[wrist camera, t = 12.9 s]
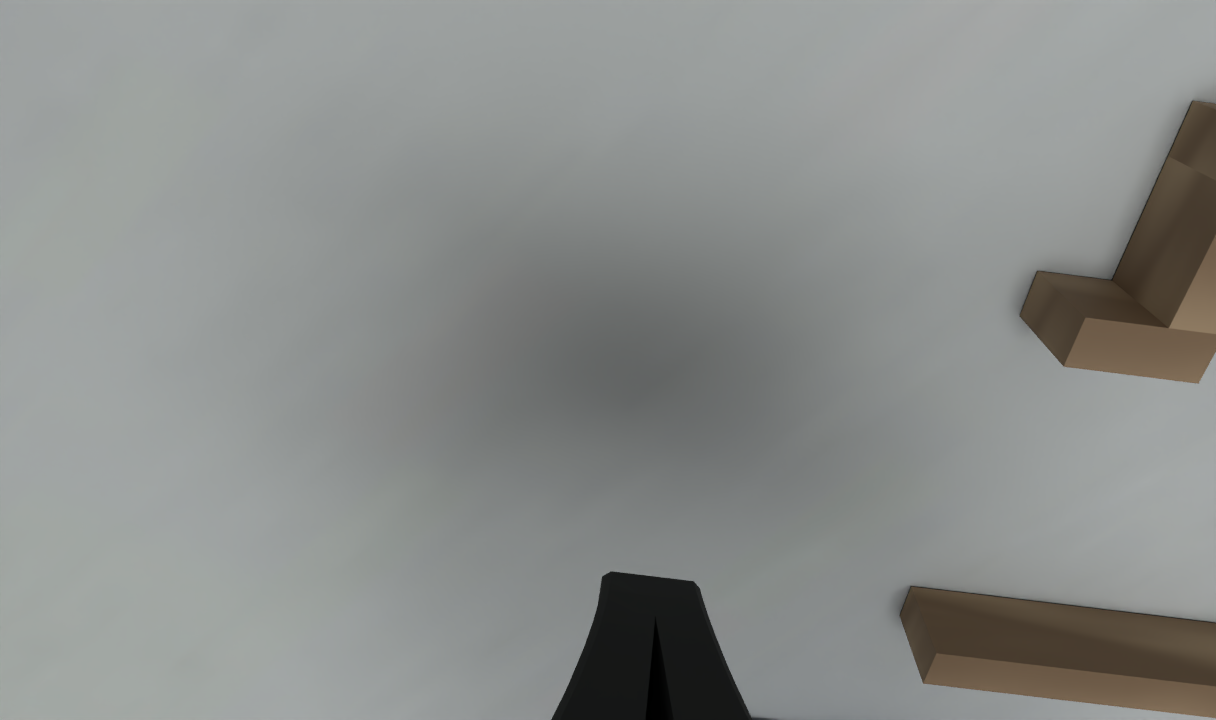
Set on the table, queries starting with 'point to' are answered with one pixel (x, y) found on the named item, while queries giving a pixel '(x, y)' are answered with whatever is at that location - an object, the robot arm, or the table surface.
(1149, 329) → the channel
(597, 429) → the table surface
